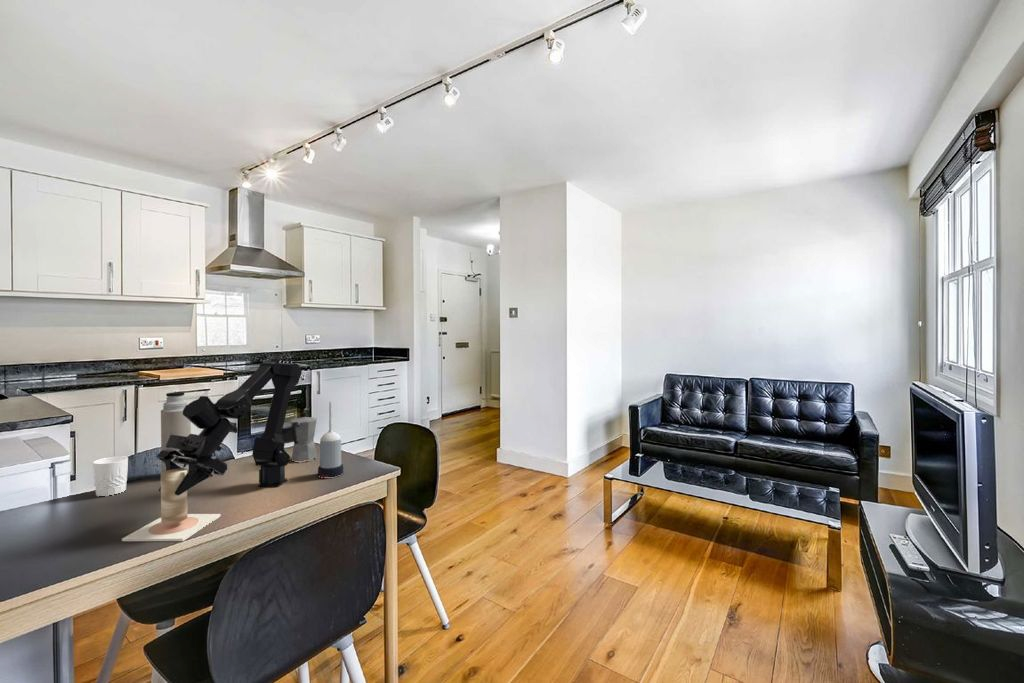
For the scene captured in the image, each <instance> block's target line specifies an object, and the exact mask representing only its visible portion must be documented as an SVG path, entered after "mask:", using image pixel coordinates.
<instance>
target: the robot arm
mask: <svg viewBox="0 0 1024 683" xmlns="http://www.w3.org/2000/svg"><path fill="white" fill-rule="evenodd" d="M302 373H303V372H302V368H301V366H300V365H299V364H298V363H296V362H295V363H293V362H292V363H291V362H289V363H288V362H275V361H263V362H260V364H259V366H258V368H256V370H255V371H254V372H252V374H251V375H249V377H248V378H247V379H246V380H245V381H244V382H243V383H242V384H241V385H240V386H239V387H238V388H236V389H235V390H234V391H230V392H228V393H225V395H223V396H222V397H220V398H219V399H218V400H217V401H216V402H213V401H212V400H211V398H209V397H208V395H207V396H205V395H200V396H199V397H198V399H195V400H193V401H191V402H188V405H186V406H185V408H184V409H183V415H184V416H185V417H186V418H187V419H188V420H190V421H191V423H192V424H193V425H194V426H195V427H196V428H198V429H200V430H201V431H200V433H198V434H194V433H191V434H189V435H188V436H187V437H185V436H178V435H170V437H169V439H168V442H167V444H166V446H165V447H167V448H170V447H171V448H175V449H180V450H179V452H180V453H182V454H184V456H183V455H182V454H180V453H179V452H177V451H176V450H170V449H165V450H160V451H159V453H158V454H156V458H157V459H158V460H159V461H163V462H164V463H165V465H166V471H167V470H171V469H181V468H184V467H185V466H186V465H189V468H188V473H187V475H186V476H185V478H184V479H183V481H182V482H181V484H180V485H179V487H178V488H177V490H176V492H175V494H176V495H180V494H182V493H184V492H185V491H187V492H188V490H190V489H192V488H193V487H195V486H196V485H198V484H199V483H202V482H203V481H205V480H207V479H209V478H212V477H213V474H214V475H215V476H224V475H225V473H226V471H227V470H228V463H227V462H226V461H224V460H223V459H221V458H219V457H218V456H217V455H214V454H215V452H221V450H222V449H223V447H222V446H221V444H222V443H223V442H224V441H225V439H226V437H227V436H228V435H229V433H233V434H237V433H238V426H237V422H233V421H232V422H231V420H229V419H233V420H235V419H236V420H237V419H238V420H239V419H243V418H244V417H245V416H246V415H247V414H248V412H249V410H250V409H251V407H252V401H253V400H254V398H255V397H256V396H257V395H258V394H259V393H260V392H261V391H262V389H264V387H265V386H267V384H269V382H270V381H271V383H272V385H273V387H274V388H273V389H274V390H273V394H272V398H271V402H270V406H269V411H268V415H267V419H266V423H265V427H264V431H263V433H262V434H261V435H260V436H257V437H255V439H254V440H253V441H254V442H253V447H252V448H251V451H252V455H251V456H252V458H253V461H254V463H255V466H256V467H257V466H259V467H260V468H259V470H258V484H257V487H259V488H261V487H264V488H266V487H269V486H271V487H273V488H275V487H277V486H278V487H279V485H280V486H281V485H282V483H283V484H284V483H285V482H287V481H288V478H286V471H285V470H286V467H285V466H287V465H288V464H290V460H291V456H290V454H288V452H287V451H286V450H285V444H286V443H285V440H284V438H283V436H282V433H283V429H284V428H283V427H284V423H285V419H286V415H287V411H288V406H289V401H290V397H291V393H292V391H293V389H294V388H296V386H297V385H298V384H299V381H300V379H301V375H302ZM189 460H190V461H189ZM286 480H287V481H286ZM271 487H269V488H271ZM278 487H277V488H278ZM158 492H160V493H161V485H160V486H159V489H158Z"/></svg>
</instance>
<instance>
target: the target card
mask: <svg viewBox="0 0 1024 683" xmlns="http://www.w3.org/2000/svg"><path fill="white" fill-rule="evenodd" d="M220 517H221V513H187V519H185V520H183V521H181V522H178V523H173V524H162V523H161V516H160V517H159V518H157V519H155V520H153V521H151V522H150V523H148V524H146V525H145V526H142V527H140V528H139V529H136V530H135V531H133V532H132V533H129V534H128V535H126V536H124V537H122V538H121V542H183V541H185V540H187V539H188V538H190V537H191V536H193V535H194V534H196V533H197V532H199V531H201V530H202V529H204V528H206V527H207V526H208V525H210V524H211V523H213V522H214V521H217V519H218V518H220ZM212 521H213V522H212ZM209 523H210V524H209ZM206 525H207V526H206ZM203 527H204V528H203Z"/></svg>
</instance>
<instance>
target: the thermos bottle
mask: <svg viewBox="0 0 1024 683" xmlns="http://www.w3.org/2000/svg"><path fill="white" fill-rule="evenodd" d="M165 396H166V401H164V402H163V403H162V404H163V406H162V407H163V409H161V410H160V444H161V445H160V446H161V448H160V449H161V450H165V449H170V450H176V451H177V452H179V450H180V449H175V448H171V447H170V448H167V447H165V446H166V444H167V442H168V439H169V437H170V435H178V436H185V437H187V436H188V435H189V434H192V432H191V431H192V426H191V425H192V424H191V423H192V422H191V421H190V420H188V419H187V418H186V417H185V416H184V415H183V409H184V408H185V406H186V405H188V404H189V402H188V401H187V400H185V392H183V391H175V392H168V393H167V392H166V393H165ZM161 450H160V451H161ZM179 453H180V452H179ZM180 454H182V453H180ZM182 455H183V456H184V454H182ZM160 461H161V460H160ZM189 461H190V460H189ZM160 463H161V464H160V466H161V473H162V472H164V471H166V465H165V463H164V462H163V461H161V462H160ZM188 468H189V465H186V466H185V467H184V468H182V469H187V473H188Z"/></svg>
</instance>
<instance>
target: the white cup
mask: <svg viewBox="0 0 1024 683" xmlns="http://www.w3.org/2000/svg"><path fill="white" fill-rule="evenodd" d="M128 463H129V457H128V456H123V455H119V456H118V455H117V456H110V457H109V456H108V457H103V458H99V459H97V460H94V461H93V462H92V469H93V471H92V472H93V481H94V487H95V496H96V497H99V496H105V497H110V496H109V495H112V496H115V495H114V494H117V495H119V494H118V493H120V494H122V493H121V492H123V493H125V492H126V491H125V490H127V481H128V469H129V468H128V467H129V466H128V465H129V464H128ZM124 491H125V492H124Z"/></svg>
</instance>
